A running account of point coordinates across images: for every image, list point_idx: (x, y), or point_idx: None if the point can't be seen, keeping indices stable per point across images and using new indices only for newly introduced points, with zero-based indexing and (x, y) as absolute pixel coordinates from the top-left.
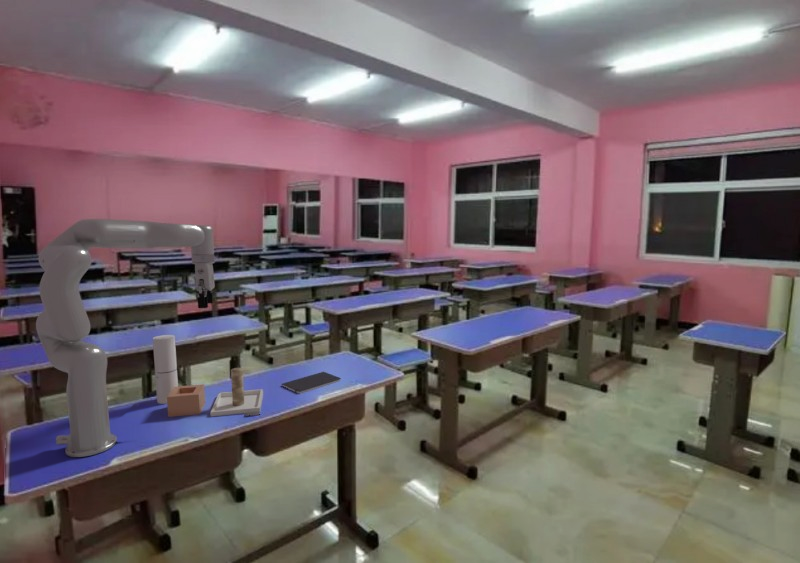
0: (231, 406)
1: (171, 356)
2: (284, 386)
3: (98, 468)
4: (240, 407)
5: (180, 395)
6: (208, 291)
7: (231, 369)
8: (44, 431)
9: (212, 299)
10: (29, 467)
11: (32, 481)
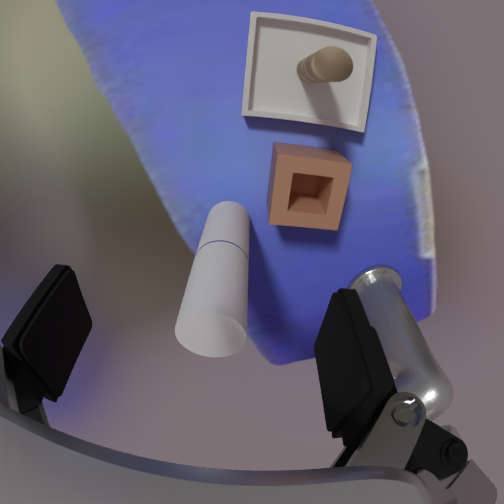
0: (321, 86)
1: (238, 275)
2: None
3: (433, 266)
4: None
5: (340, 203)
6: (22, 386)
7: (327, 79)
8: (290, 346)
9: (45, 285)
10: None
11: (419, 312)
